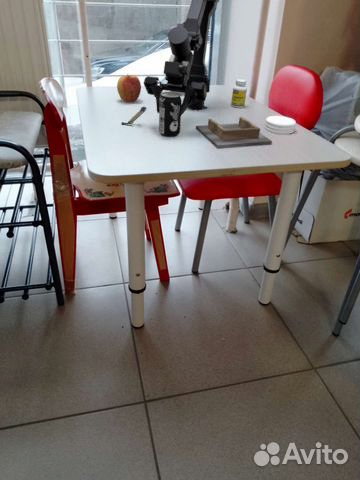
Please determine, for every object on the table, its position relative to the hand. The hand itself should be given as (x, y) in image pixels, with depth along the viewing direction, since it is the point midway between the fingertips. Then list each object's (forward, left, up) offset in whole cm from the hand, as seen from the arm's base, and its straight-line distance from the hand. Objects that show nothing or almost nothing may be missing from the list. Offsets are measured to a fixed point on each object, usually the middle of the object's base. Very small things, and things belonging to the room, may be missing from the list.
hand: (168, 113), depth 107 cm
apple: (-14, -39, -7) cm, 42 cm away
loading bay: (-16, +12, -7) cm, 21 cm away
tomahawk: (-5, -20, -7) cm, 22 cm away
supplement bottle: (-46, -10, -7) cm, 48 cm away
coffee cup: (-40, -38, -7) cm, 56 cm away
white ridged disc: (-35, +17, -7) cm, 40 cm away
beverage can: (-1, -1, -7) cm, 7 cm away
